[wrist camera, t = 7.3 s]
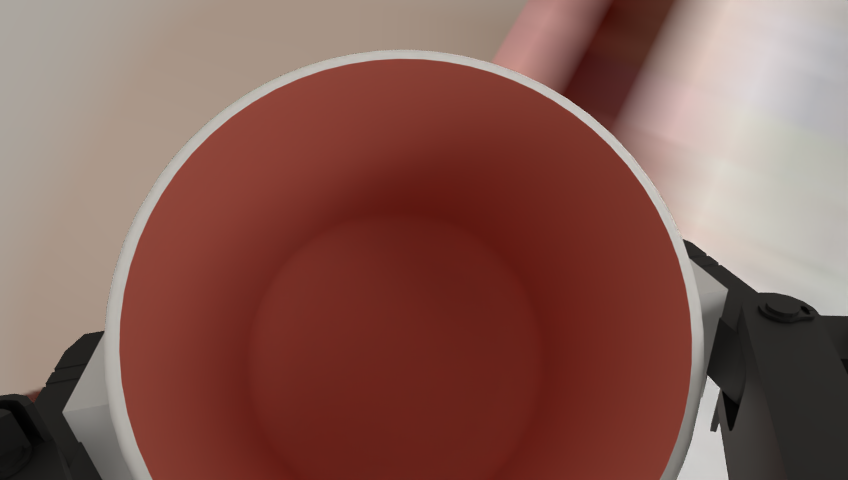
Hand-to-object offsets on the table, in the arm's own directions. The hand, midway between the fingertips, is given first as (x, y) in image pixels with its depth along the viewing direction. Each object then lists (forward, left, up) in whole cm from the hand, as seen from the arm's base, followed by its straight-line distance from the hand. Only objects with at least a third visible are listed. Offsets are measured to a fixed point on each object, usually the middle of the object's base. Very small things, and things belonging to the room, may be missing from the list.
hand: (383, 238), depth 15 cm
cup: (-2, +2, -4) cm, 5 cm away
